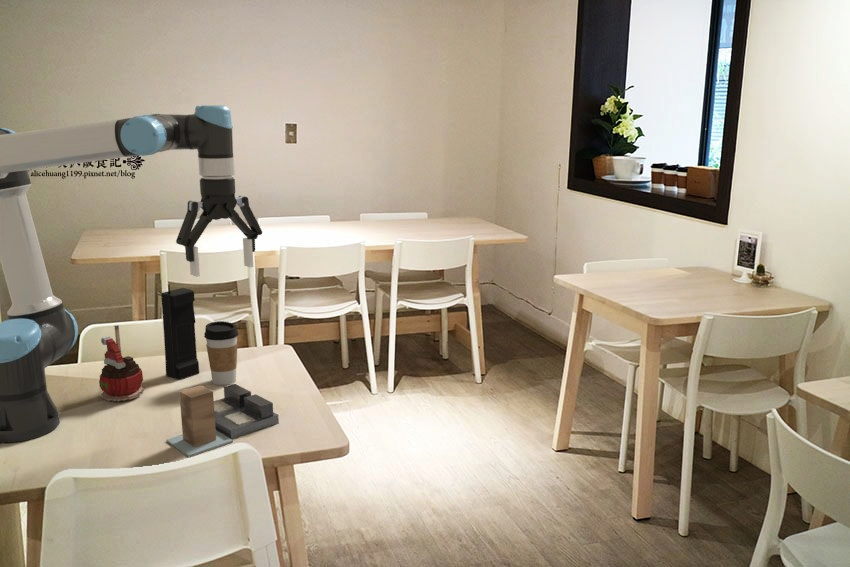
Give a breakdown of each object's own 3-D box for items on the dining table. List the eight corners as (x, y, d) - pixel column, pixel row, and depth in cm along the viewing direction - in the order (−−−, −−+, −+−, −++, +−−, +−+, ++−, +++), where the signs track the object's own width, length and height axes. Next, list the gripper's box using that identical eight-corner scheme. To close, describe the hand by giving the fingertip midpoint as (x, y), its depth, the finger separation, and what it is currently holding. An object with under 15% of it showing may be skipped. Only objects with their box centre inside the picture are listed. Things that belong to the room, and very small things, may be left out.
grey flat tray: (192, 415, 176) (191, 395, 175) (238, 401, 184) (237, 382, 183) (231, 439, 164) (230, 417, 163) (278, 423, 172) (277, 402, 171)
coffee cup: (227, 373, 203) (224, 318, 199) (247, 380, 198) (244, 324, 194) (200, 381, 197) (196, 325, 193) (220, 389, 191) (217, 332, 188)
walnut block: (183, 439, 163) (179, 391, 160) (204, 432, 166) (201, 385, 164) (194, 447, 159) (191, 397, 157) (216, 440, 163) (213, 391, 160)
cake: (153, 395, 188) (147, 324, 183) (118, 407, 181) (111, 334, 176) (127, 385, 194) (121, 317, 190) (93, 396, 187) (85, 326, 182)
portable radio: (189, 367, 207) (182, 277, 201) (203, 372, 204) (197, 280, 198) (164, 375, 201) (156, 283, 195) (178, 380, 197) (171, 286, 191)
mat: (166, 441, 163) (166, 439, 163) (209, 427, 170) (209, 425, 170) (189, 456, 156) (189, 455, 156) (232, 442, 163) (232, 440, 163)
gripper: (256, 172, 180) (260, 260, 185) (155, 179, 163) (163, 276, 168) (274, 174, 175) (278, 265, 180) (171, 182, 158) (179, 282, 163)
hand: (222, 270), depth 174 cm, fingers open, 13 cm apart
